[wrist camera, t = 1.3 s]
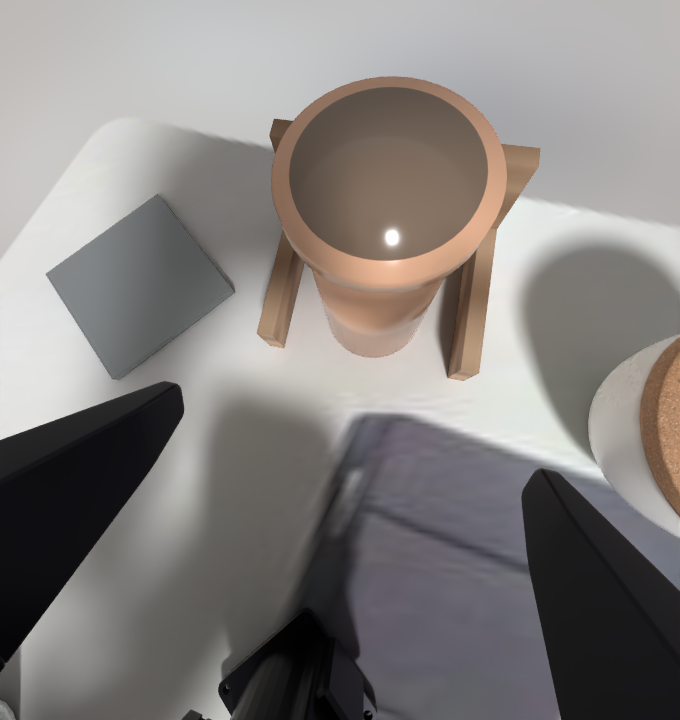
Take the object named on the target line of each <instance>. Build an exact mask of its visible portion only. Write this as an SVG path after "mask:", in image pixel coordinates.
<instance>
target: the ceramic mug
mask: <svg viewBox="0 0 680 720" xmlns="http://www.w3.org/2000/svg"><path fill="white" fill-rule="evenodd" d="M0 720H16V719H15V716H14V713H13V711H12V710H11V709H10V707H9V706H8V705H7V703H5V702H4V701H2V700H0Z"/></svg>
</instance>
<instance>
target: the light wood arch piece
mask: <svg viewBox="0 0 680 720" xmlns="http://www.w3.org/2000/svg"><path fill="white" fill-rule="evenodd" d="M292 122H293V121H288V120H280V119H274V121H273V125H272V128H271V132H270V139H271V142H272V145H273V148H274V151H275V153H276V151H277V148H278V146H279V143H280V141H281V139H282V137H283V136H284V134H285V132H286V130H287V129H288V128H289V126H290V125H291V124H292ZM501 146H502V148H503V152H504V156H505V161H506V170H507V182H506V191H505V195H504V199H503V203H502V206H501V208H500V211H499V213H498V215H497V218H496V219H495V221H494V223H493V224H492V226H491V228H490V229H489V231H488V232H487V234H486V236H485V237H484V239H483V240H482V242H481V243H480V245H479V247H478V248H477V249H476V251H475V252H474V253H473V254H472V255H471V257H470V258H469V259H468V260H467V261H466V262H465V263H464V266H463V273H462V280H461V287H460V294H459V301H458V308H457V315H456V322H455V329H454V336H453V344H452V351H451V358H450V365H449V372H448V378H450V379H456V380H461V381H464V380H466V379H468V378H470V377H472V376H474V375H476V374H478V373H479V369H480V361H481V353H482V344H483V336H484V328H485V320H486V312H487V304H488V296H489V288H490V280H491V272H492V264H493V256H494V248H495V240H496V231H497V228H498V227H499V225H500V224H501V222H502V221H503V219H504V218H505V216H506V215H507V213H508V212H509V210H510V209H511V207H512V206H513V204H514V203H515V201H516V200H517V198H518V197H519V195H520V194H521V192H522V191H523V189H524V188H525V186H526V185H527V183H528V182H529V180H530V179H531V177H532V176H533V174H534V172H535V171H536V170H537V168H538V165H539V157H540V148H533V147H524V146H515V145H506V144H501ZM303 266H304V261H303V260H302V259H301V258H300V257H299V255H298V254H297V253H296V251H295V250H294V249H293V247H292V246H291V244H290V242H289V240H288V238H287V236H286V234H285V232H284V229H283V232H282V236H281V240H280V244H279V247H278V251H277V255H276V259H275V263H274V267H273V271H272V275H271V279H270V283H269V287H268V291H267V294H266V298H265V302H264V306H263V310H262V314H261V318H260V322H259V326H258V330H257V334H258V335H259V336H260V337H261V338H262V339H263V340H265V341H266V342H267V343H268V344H269V345H270V346H276V347H281V348H284V347H285V342H286V338H287V334H288V330H289V325H290V321H291V317H292V313H293V309H294V304H295V300H296V296H297V292H298V288H299V283H300V279H301V275H302V271H303Z"/></svg>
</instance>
